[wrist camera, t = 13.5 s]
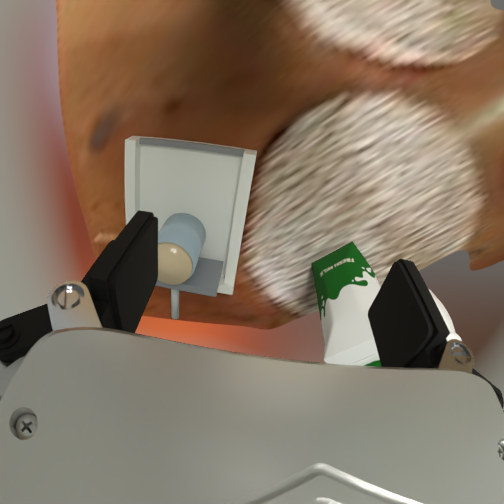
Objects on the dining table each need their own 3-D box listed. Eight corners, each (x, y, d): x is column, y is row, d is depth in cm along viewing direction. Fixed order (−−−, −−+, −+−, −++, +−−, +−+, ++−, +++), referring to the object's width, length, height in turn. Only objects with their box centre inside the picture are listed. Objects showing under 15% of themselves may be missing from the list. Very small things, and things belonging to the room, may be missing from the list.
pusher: (143, 247, 44) (127, 273, 38) (223, 261, 44) (217, 290, 39) (146, 292, 49) (133, 319, 43) (217, 306, 49) (211, 335, 44)
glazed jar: (163, 209, 41) (142, 239, 34) (208, 216, 41) (195, 248, 34) (162, 248, 44) (145, 281, 37) (204, 255, 44) (192, 290, 38)
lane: (132, 135, 35) (123, 140, 33) (257, 150, 36) (256, 156, 34) (135, 264, 47) (128, 275, 44) (234, 282, 47) (232, 295, 45)
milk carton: (330, 298, 48) (349, 406, 32) (303, 261, 45) (316, 375, 28) (377, 274, 45) (416, 378, 28) (355, 232, 41) (398, 340, 25)
